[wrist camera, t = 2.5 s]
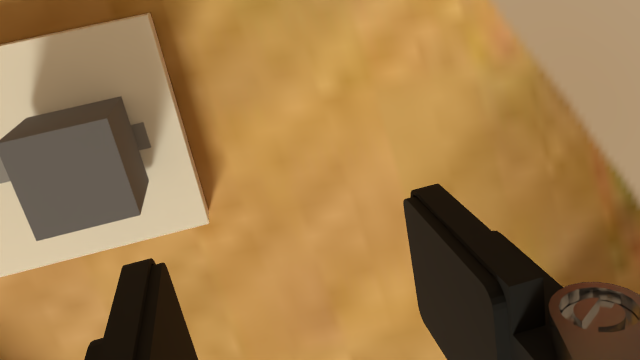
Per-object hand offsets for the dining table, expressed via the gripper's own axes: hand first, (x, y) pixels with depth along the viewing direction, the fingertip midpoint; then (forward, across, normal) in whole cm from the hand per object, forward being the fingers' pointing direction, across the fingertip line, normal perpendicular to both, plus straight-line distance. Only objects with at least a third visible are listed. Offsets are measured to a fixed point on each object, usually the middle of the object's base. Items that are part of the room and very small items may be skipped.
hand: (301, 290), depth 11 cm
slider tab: (+15, +7, 0) cm, 17 cm away
